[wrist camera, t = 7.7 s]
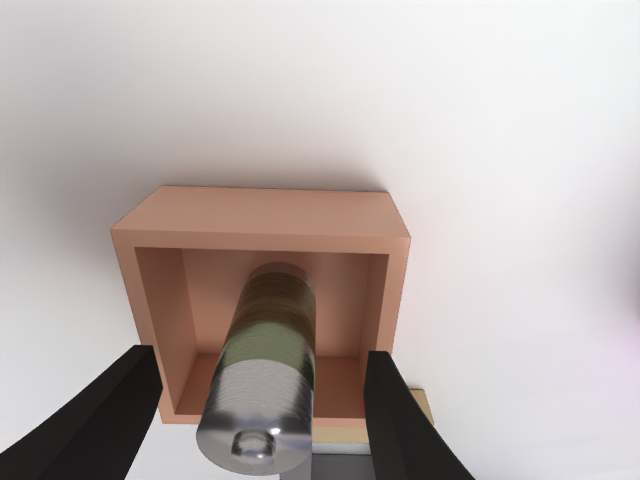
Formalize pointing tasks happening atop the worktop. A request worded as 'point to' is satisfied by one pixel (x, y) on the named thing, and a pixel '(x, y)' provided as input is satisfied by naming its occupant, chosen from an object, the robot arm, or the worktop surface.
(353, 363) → the cup
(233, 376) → the battery cell
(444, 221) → the worktop surface
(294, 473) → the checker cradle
